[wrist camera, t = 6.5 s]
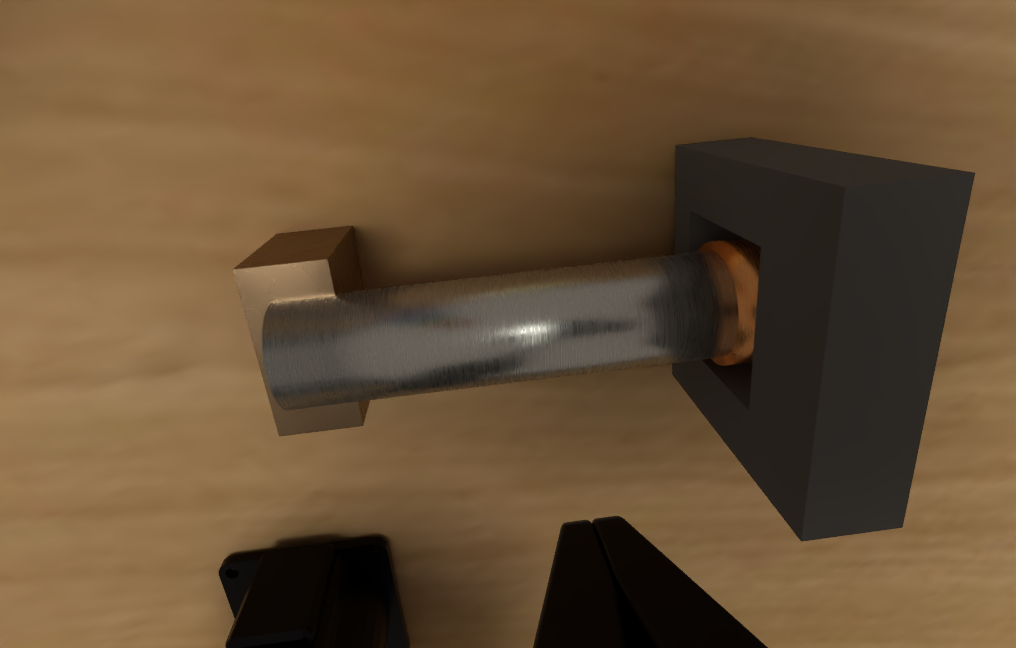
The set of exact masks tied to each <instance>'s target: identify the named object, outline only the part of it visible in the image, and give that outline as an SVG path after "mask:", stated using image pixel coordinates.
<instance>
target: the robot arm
mask: <svg viewBox="0 0 1016 648" xmlns="http://www.w3.org/2000/svg"><path fill="white" fill-rule="evenodd" d="M372 549H377V550H379V551H378V552H373V551H372ZM230 568H234V569H236V570H238V571H234V570H232V569H230ZM219 576H220V579H221V582H222V585H223V587H224V590H225V593H226V596H227V598H228V601H229V604H230V607H231V609H232V612H233V615H234V618H235V621H234V624H233V626H232V629H231V631H230V633H229V636H228V638H227V641H226V648H410V643H409V638H408V633H407V629H406V624H405V619H404V615H403V610H402V606H401V601H400V596H399V592H398V587H397V582H396V578H395V573H394V568H393V564H392V559H391V554H390V550H389V545H388V543H387V541H386V540H384V539H383V538H380V537H370V538H362V539H355V540H347V541H340V542H332V543H325V544H317V545H310V546H302V547H295V548H287V549H280V550H272V551H265V552H257V553H250V554H242V555H235V556H230V557H227V558H226V559H225V560H224V561H223V563H222V565H221V567H220V570H219ZM533 648H768V647H766V646H765V645H764V644H763V643H762V642H761V641H760V640H759V639H758V638H756V637H755V636H754V635H753V634H752V633H751V632H750V631H749V630H747V629H746V628H745V627H744V626H743V625H742V624H741V623H740V622H739V621H737V620H736V619H735V618H734V617H733V616H732V615H731V614H730V613H728V612H727V611H726V610H725V609H724V608H723V607H722V606H721V605H720V604H718V603H717V602H716V601H715V600H714V599H713V598H712V597H711V596H710V595H708V594H707V593H706V592H705V591H704V590H703V589H702V588H701V587H699V586H698V585H697V584H696V583H695V582H694V581H693V580H692V579H691V578H689V577H688V576H687V575H686V574H685V573H684V572H683V571H682V570H680V569H679V568H678V567H677V566H676V565H675V564H674V563H673V562H672V561H670V560H669V559H668V558H667V557H666V556H665V555H664V554H663V553H662V552H660V551H659V550H658V549H657V548H656V547H655V546H654V545H653V544H651V543H650V542H649V541H648V540H647V539H646V538H645V537H644V536H643V535H641V534H640V533H639V532H638V531H637V530H636V529H635V528H634V527H632V526H631V525H630V524H629V523H628V522H627V521H626V520H625V519H623V518H622V517H620V516H612V517H604V518H597V519H594V520H593V522H592V523H591V522H590V521H588V520H581V521H573V522H566V523H564V524H563V525H562V526H561V530H560V534H559V538H558V542H557V547H556V551H555V555H554V560H553V564H552V568H551V573H550V577H549V581H548V586H547V590H546V594H545V598H544V603H543V607H542V611H541V616H540V620H539V624H538V629H537V633H536V637H535V642H534V646H533Z"/></svg>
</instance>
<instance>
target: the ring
mask: <svg viewBox="0 0 1016 648" xmlns="http://www.w3.org/2000/svg"><path fill="white" fill-rule="evenodd" d="M974 175H975V173H973V172H966V171H960V170H954V169H947V168H941V167H935V166H928V165H922V164H916V163H909V162H903V161H897V160H890V159H884V158H878V157H871V156H865V155H859V154H853V153H846V152H840V151H834V150H827V149H821V148H815V147H808V146H802V145H796V144H789V143H783V142H777V141H770V140H764V139H758V138H741V139H732V140H722V141H713V142H703V143H694V144H684V145H676V177H675V239H674V255H676V254H684V253H693V252H698V251H699V249H700V248H701V246H702V245H703V244H705V243H706V242H710V241H719V240H728V239H736V238H744V239H746V240H748V241H750V242H752V243H754V244H756V245H758V246H760V247H761V254H760V268H759V281H758V295H757V308H756V322H755V336H754V349H753V362H751V363H743V364H735V365H727V366H721V365H718V364H716V363H715V362H714V361H713V360H712V359H711V358H709V359H701V360H693V361H685V362H677V363H672V375H673V376H674V377H675V378H676V380H677V381H678V382H679V384H680V385H681V386H682V388H683V389H684V390H685V391H686V393H687V394H688V395H689V397H690V398H691V399H692V400H693V402H694V403H695V404H696V406H697V407H698V408H699V410H700V411H701V412H702V413H703V415H704V416H705V417H706V419H707V420H708V421H709V422H710V424H711V425H712V426H713V428H714V429H715V430H716V432H717V433H718V434H719V435H720V437H721V438H722V439H723V441H724V442H725V443H726V445H727V446H728V447H729V448H730V450H731V451H732V452H733V454H734V455H735V456H736V457H737V459H738V460H739V461H740V463H741V464H742V465H743V467H744V468H745V469H746V470H747V472H748V473H749V474H750V476H751V477H752V478H753V479H754V481H755V482H756V483H757V485H758V486H759V487H760V489H761V490H762V491H763V492H764V494H765V495H766V496H767V498H768V499H769V500H770V501H771V503H772V504H773V505H774V507H775V508H776V509H777V511H778V512H779V513H780V514H781V516H782V517H783V518H784V520H785V521H786V522H787V523H788V525H789V526H790V527H791V529H792V530H793V531H794V533H795V534H796V535H797V536H798V538H799V539H800V540H801V541H808V540H815V539H822V538H830V537H837V536H844V535H851V534H859V533H866V532H873V531H880V530H887V529H895V528H902V527H903V522H904V517H905V513H906V508H907V503H908V498H909V493H910V488H911V483H912V478H913V473H914V469H915V464H916V459H917V454H918V449H919V444H920V439H921V434H922V429H923V425H924V420H925V415H926V410H927V405H928V400H929V395H930V390H931V385H932V381H933V376H934V371H935V366H936V361H937V356H938V351H939V346H940V341H941V337H942V332H943V327H944V322H945V317H946V312H947V307H948V302H949V297H950V293H951V288H952V283H953V278H954V273H955V268H956V263H957V258H958V253H959V249H960V244H961V239H962V234H963V229H964V224H965V219H966V214H967V209H968V205H969V200H970V195H971V190H972V185H973V180H974Z"/></svg>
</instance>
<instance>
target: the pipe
mask: <svg viewBox="0 0 1016 648" xmlns="http://www.w3.org/2000/svg"><path fill="white" fill-rule="evenodd" d="M760 254H761V247H760V246H758V245H756V244H754V243H752V242H750V241H748V240H746V239H744V238H736V239H728V240H719V241H710V242H706V243H705V244H703V245H702V246H701V248H700V249H699V251H698V252H693V253H684V254H676V255H667V256H658V257H649V258H640V259H632V260H623V261H614V262H605V263H597V264H588V265H579V266H570V267H561V268H553V269H544V270H535V271H526V272H517V273H509V274H500V275H491V276H482V277H473V278H465V279H456V280H447V281H438V282H430V283H421V284H412V285H403V286H394V287H386V288H377V289H368V290H364V285H363V279H362V274H361V269H360V264H359V259H358V254H357V248H356V243H355V238H354V233H353V228H352V226H346V227H337V228H328V229H319V230H310V231H300V232H291V233H282V234H276V235H275V236H273V237H272V238H271V239H270V240H269V241H267V242H266V243H265V244H264V245H262V246H261V247H260V248H259V249H257V250H256V251H255V252H254V253H253V254H251V255H250V256H249V257H248V258H246V259H245V260H244V261H243V262H242V263H240V264H239V265H238V266H237V267H235V268H234V269H233V273H234V276H235V280H236V283H237V287H238V290H239V294H240V298H241V301H242V305H243V308H244V312H245V316H246V319H247V323H248V326H249V330H250V333H251V337H252V341H253V344H254V348H255V351H256V355H257V358H258V362H259V366H260V369H261V373H262V376H263V380H264V383H265V387H266V391H267V394H268V398H269V401H270V405H271V409H272V412H273V416H274V419H275V423H276V426H277V430H278V434H279V436H286V435H294V434H302V433H310V432H318V431H326V430H334V429H342V428H350V427H358V426H363V425H364V421H365V417H366V413H367V410H368V406H369V402H370V400H375V399H383V398H391V397H399V396H408V395H416V394H424V393H432V392H440V391H448V390H457V389H465V388H473V387H481V386H489V385H497V384H505V383H514V382H522V381H530V380H538V379H546V378H554V377H563V376H571V375H579V374H587V373H595V372H603V371H612V370H620V369H628V368H636V367H644V366H652V365H661V364H669V363H677V362H685V361H693V360H701V359H709V358H711V359H712V360H713V361H714V362H715V363H716V364H718V365H721V366H727V365H735V364H743V363H751V362H753V349H754V336H755V322H756V308H757V295H758V281H759V268H760Z"/></svg>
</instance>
